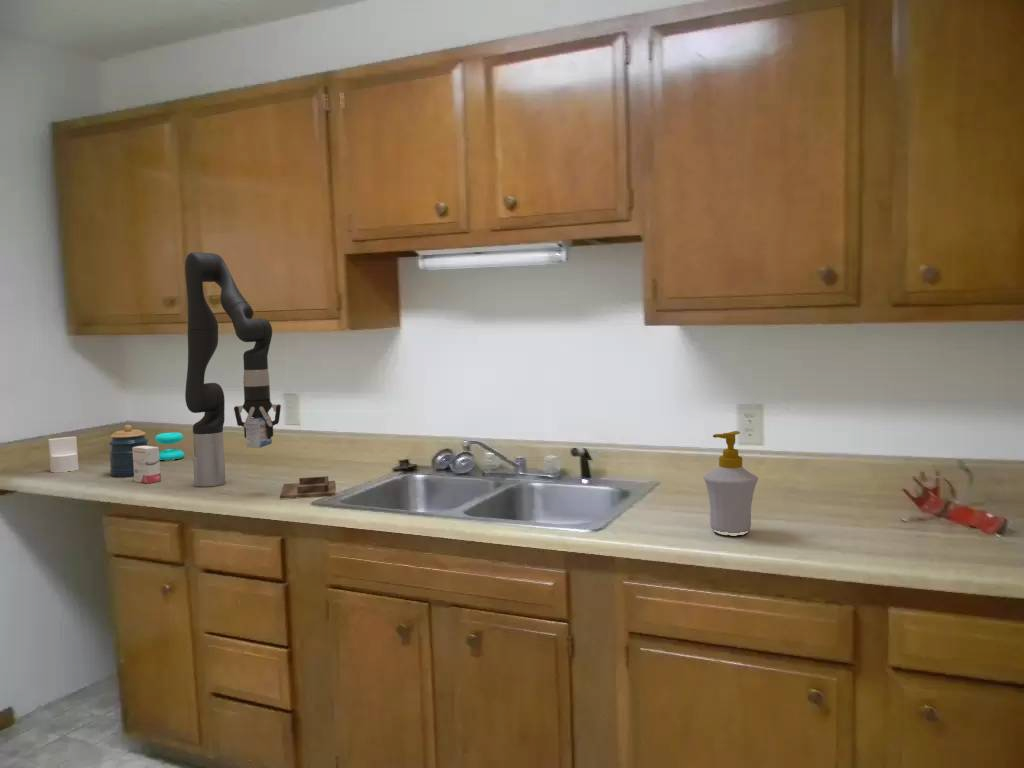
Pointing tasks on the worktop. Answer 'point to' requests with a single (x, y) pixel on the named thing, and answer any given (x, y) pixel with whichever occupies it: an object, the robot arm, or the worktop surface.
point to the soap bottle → (730, 490)
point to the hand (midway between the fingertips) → (259, 438)
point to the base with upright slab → (63, 454)
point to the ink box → (146, 464)
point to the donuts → (170, 439)
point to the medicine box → (257, 432)
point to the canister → (125, 450)
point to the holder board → (309, 488)
